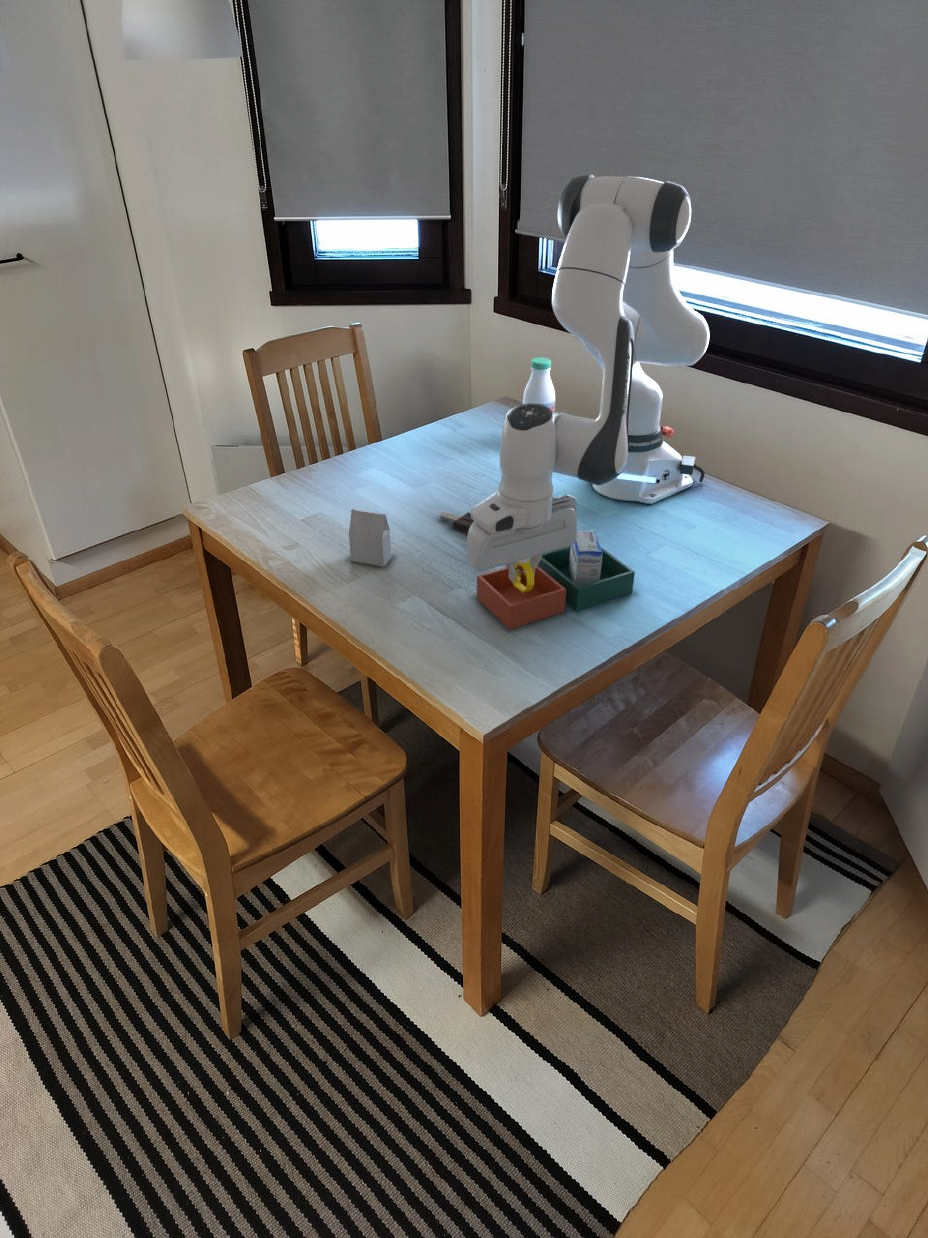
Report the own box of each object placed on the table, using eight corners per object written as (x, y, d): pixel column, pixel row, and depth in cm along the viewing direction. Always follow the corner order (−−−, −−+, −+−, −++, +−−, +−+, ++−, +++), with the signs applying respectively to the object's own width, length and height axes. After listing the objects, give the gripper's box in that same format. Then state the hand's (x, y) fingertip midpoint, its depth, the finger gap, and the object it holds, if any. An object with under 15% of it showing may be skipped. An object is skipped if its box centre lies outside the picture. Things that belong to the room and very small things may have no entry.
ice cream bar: (433, 522, 179) (495, 542, 172) (433, 515, 178) (495, 535, 171) (448, 512, 182) (509, 532, 175) (448, 505, 181) (509, 524, 175)
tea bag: (383, 566, 164) (381, 519, 158) (351, 560, 166) (347, 513, 160) (391, 557, 167) (389, 510, 161) (358, 551, 169) (355, 505, 163)
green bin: (588, 560, 166) (591, 539, 164) (632, 593, 157) (635, 571, 154) (535, 576, 161) (536, 555, 159) (576, 611, 152) (578, 589, 149)
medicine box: (567, 571, 162) (571, 529, 157) (591, 570, 162) (596, 529, 157) (574, 594, 155) (577, 551, 150) (598, 593, 156) (603, 551, 151)
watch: (537, 594, 150) (539, 565, 147) (523, 599, 149) (525, 569, 146) (518, 578, 154) (520, 549, 151) (505, 582, 153) (506, 553, 150)
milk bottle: (519, 445, 211) (522, 364, 200) (522, 433, 218) (526, 353, 206) (551, 448, 210) (556, 365, 199) (553, 435, 217) (559, 355, 205)
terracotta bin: (529, 581, 160) (530, 560, 157) (564, 611, 152) (566, 589, 149) (476, 597, 155) (476, 575, 153) (509, 629, 147) (510, 606, 145)
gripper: (566, 484, 149) (561, 555, 157) (461, 511, 141) (461, 584, 149) (588, 499, 145) (581, 571, 152) (481, 527, 136) (480, 601, 144)
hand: (521, 577), depth 150 cm, fingers closed on watch
